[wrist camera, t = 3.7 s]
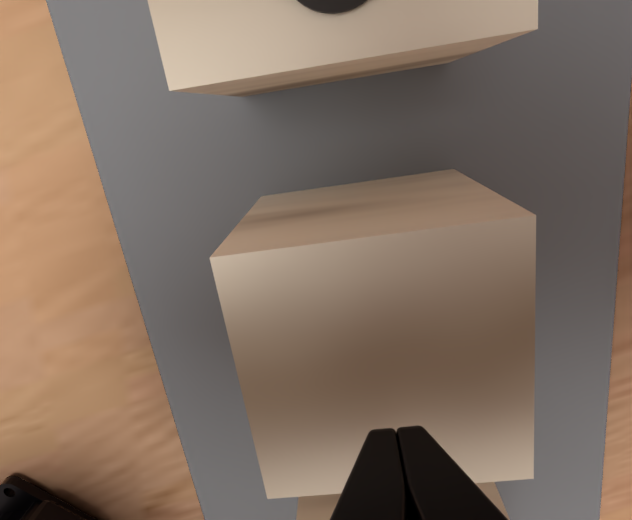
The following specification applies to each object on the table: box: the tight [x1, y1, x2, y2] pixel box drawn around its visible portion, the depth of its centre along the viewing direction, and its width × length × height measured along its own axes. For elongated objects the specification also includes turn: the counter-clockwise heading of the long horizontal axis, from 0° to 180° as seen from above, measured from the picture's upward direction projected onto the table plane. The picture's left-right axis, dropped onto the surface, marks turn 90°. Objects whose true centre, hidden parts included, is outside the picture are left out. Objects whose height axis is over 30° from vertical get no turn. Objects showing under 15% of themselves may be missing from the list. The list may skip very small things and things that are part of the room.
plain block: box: [210, 169, 536, 499], centre depth 12 cm, size 6×6×6 cm
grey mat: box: [46, 0, 632, 520], centre depth 15 cm, size 25×16×1 cm, turn 9°
